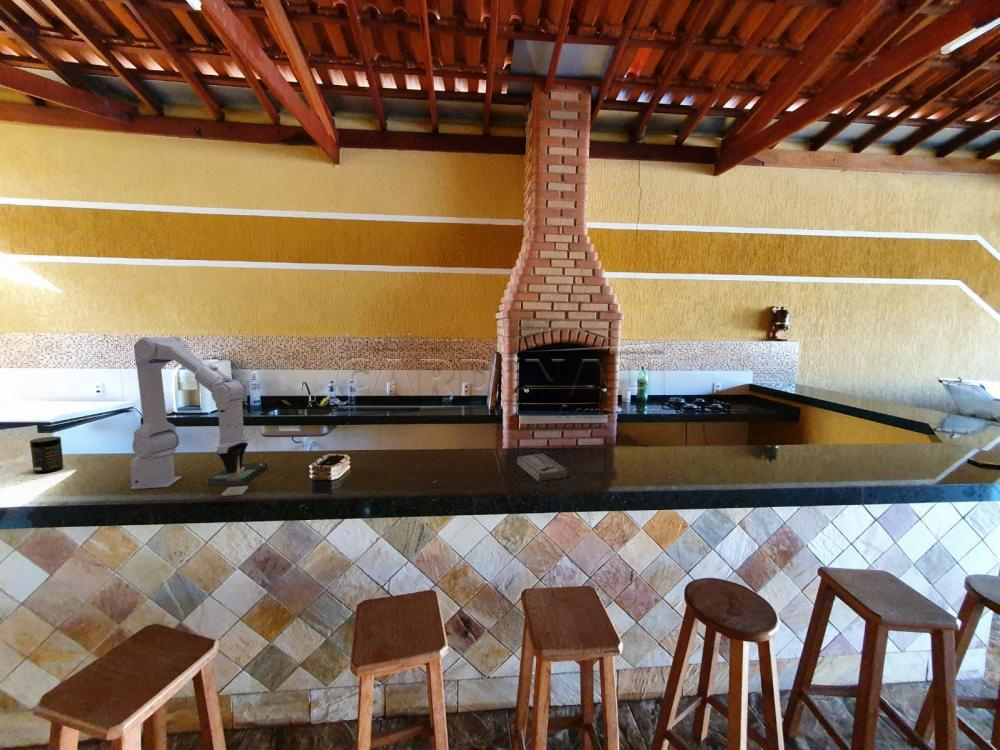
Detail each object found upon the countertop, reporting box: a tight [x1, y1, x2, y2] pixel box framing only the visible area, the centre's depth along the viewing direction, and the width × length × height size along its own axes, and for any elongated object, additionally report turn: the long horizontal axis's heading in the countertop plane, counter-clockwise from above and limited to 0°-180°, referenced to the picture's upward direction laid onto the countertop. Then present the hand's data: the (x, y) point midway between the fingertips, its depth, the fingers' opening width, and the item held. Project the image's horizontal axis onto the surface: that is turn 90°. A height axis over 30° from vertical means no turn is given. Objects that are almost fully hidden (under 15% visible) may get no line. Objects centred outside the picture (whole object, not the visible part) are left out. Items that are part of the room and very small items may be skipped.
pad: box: [221, 485, 249, 497], centre depth 119 cm, size 5×5×1 cm
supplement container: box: [29, 436, 65, 475], centre depth 133 cm, size 7×7×10 cm
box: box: [516, 452, 568, 482], centre depth 141 cm, size 11×17×3 cm, turn 22°
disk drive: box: [207, 462, 268, 487], centre depth 131 cm, size 10×3×15 cm
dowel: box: [228, 457, 240, 478], centre depth 118 cm, size 3×3×6 cm
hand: (234, 470), depth 119 cm, fingers closed on dowel, 3 cm apart
